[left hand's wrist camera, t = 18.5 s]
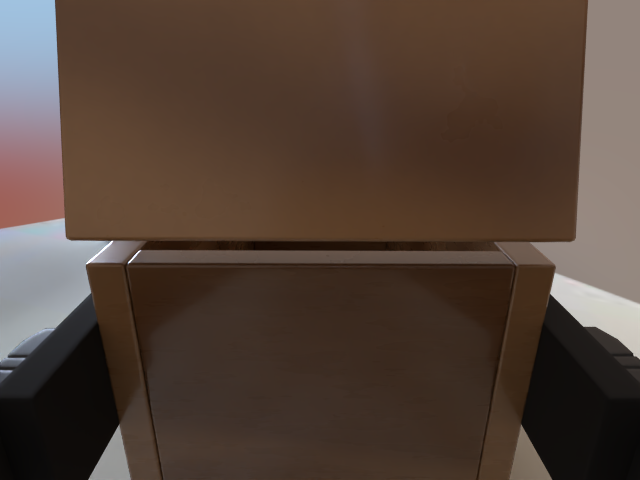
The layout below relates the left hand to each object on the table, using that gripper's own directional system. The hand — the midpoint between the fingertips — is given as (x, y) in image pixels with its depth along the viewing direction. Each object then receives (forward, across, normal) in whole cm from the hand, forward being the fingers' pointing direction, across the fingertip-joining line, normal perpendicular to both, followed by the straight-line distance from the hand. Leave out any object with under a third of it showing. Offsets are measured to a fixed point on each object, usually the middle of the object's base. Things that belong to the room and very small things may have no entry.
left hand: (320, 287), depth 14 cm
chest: (+4, 0, -7) cm, 8 cm away
